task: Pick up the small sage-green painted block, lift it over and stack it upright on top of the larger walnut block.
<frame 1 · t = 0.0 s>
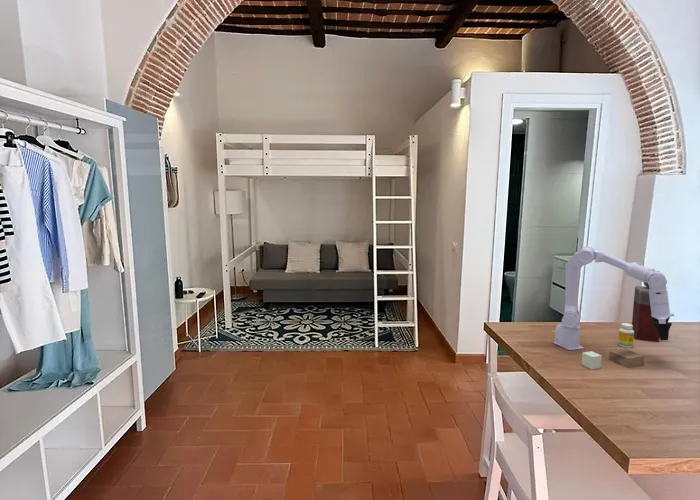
hand: (663, 337, 154), 11 cm above the table, tool pointing down, fingers open, 7 cm apart
supplement bottle: (625, 346, 174), on the table
red lidded box: (644, 337, 185), on the table
walnut block: (626, 363, 157), on the table
sage block: (591, 366, 154), on the table
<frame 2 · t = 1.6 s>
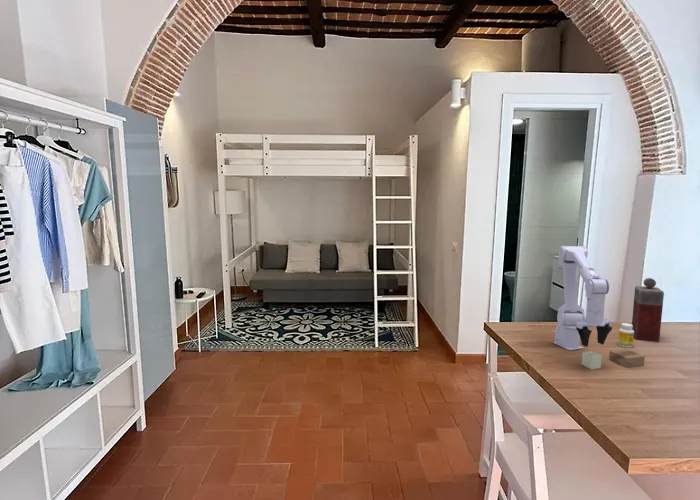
hand: (592, 344, 152), 9 cm above the table, tool pointing down, fingers open, 7 cm apart
nothing on the table moved.
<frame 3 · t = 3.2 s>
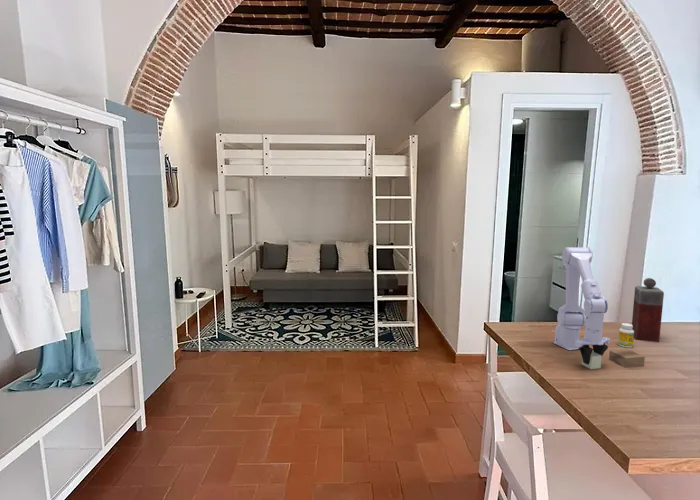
hand: (591, 362, 153), 1 cm above the table, tool pointing down, fingers closed on sage block, 4 cm apart
sage block: (591, 366, 154), on the table, touching gripper
everything else where it was.
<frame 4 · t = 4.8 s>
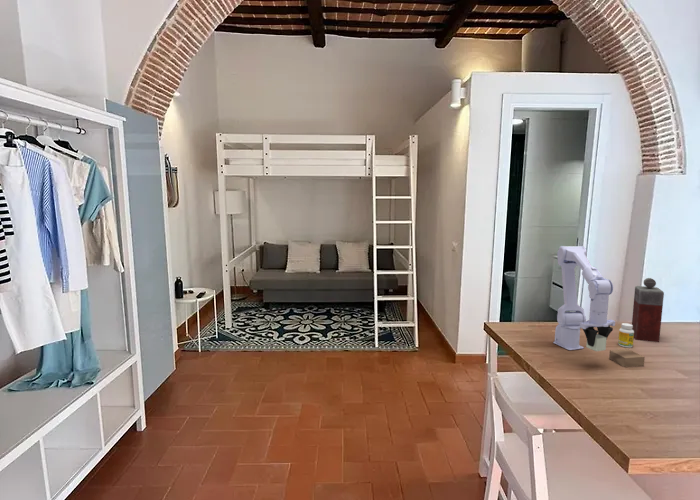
hand: (596, 345, 153), 8 cm above the table, tool pointing down, fingers closed on sage block, 4 cm apart
sage block: (595, 348, 153), point 7 cm above the table, touching gripper
everything else where it was.
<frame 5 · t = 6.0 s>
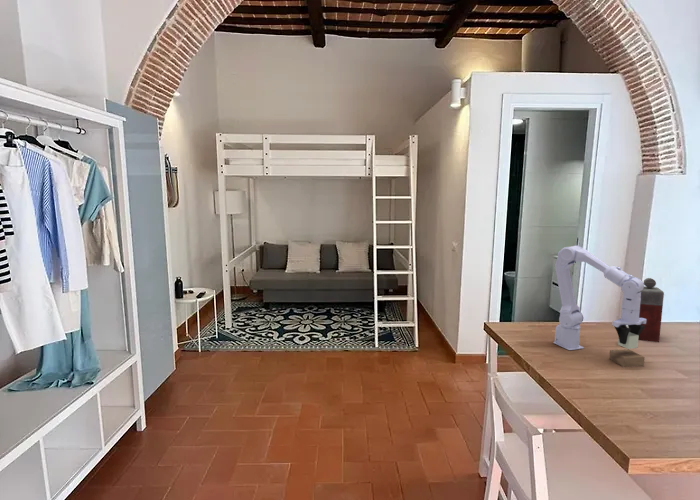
hand: (627, 342, 156), 8 cm above the table, tool pointing down, fingers closed on sage block, 4 cm apart
sage block: (627, 346, 156), point 7 cm above the table, touching gripper
everything else where it was.
when the fingers open (6 cm above the table, at t = 6.7 s): sage block drops 1 cm, point 4 cm above the table.
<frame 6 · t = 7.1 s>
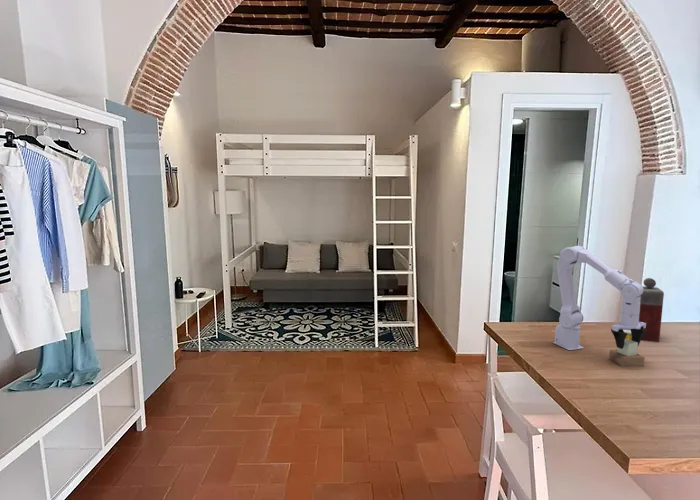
hand: (627, 346, 156), 6 cm above the table, tool pointing down, fingers open, 7 cm apart
sage block: (626, 353, 156), point 4 cm above the table
everything else where it was.
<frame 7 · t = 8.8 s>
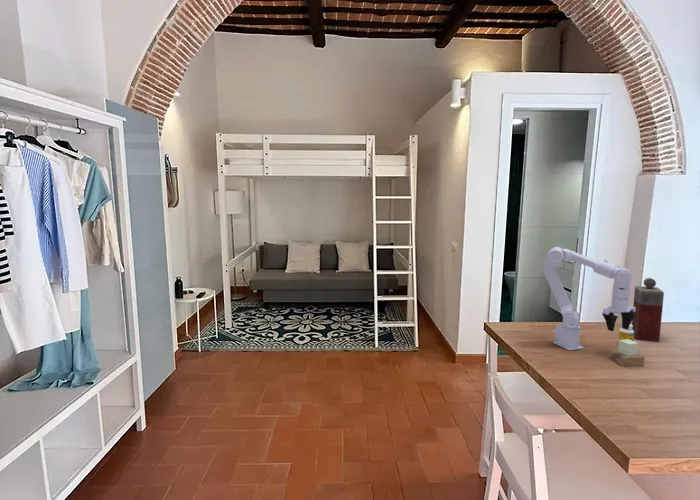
hand: (617, 329, 164), 10 cm above the table, tool pointing down, fingers open, 7 cm apart
walnut block: (625, 363, 157), on the table, touching sage block
sage block: (627, 353, 156), point 4 cm above the table, touching walnut block
everything else where it was.
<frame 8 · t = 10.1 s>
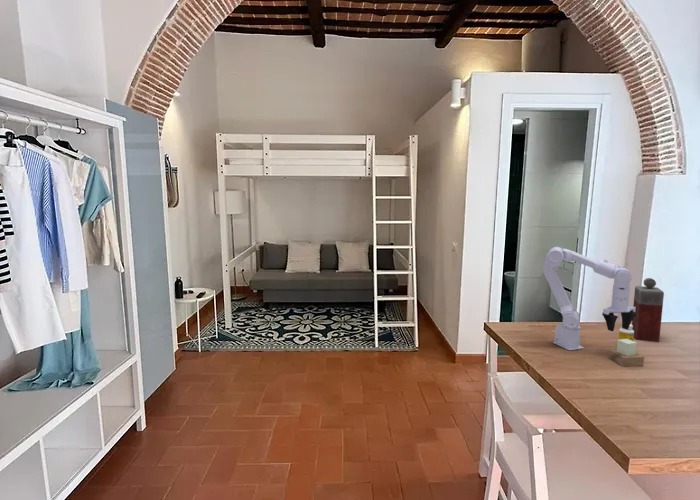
hand: (617, 329, 164), 10 cm above the table, tool pointing down, fingers open, 7 cm apart
walnut block: (625, 363, 157), on the table
sage block: (626, 353, 156), point 4 cm above the table
everything else where it was.
at the end: sage block 0.2 cm off-centre on the walnut block, point 4.0 cm above the walnut block's base; sage block tilted 0°; the gripper is holding nothing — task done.
